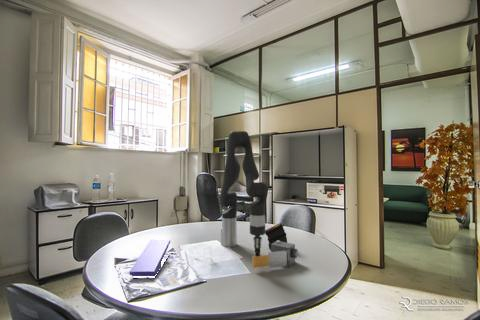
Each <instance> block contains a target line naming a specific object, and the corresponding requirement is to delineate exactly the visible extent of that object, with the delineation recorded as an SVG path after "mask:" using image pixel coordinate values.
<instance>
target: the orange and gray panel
mask: <svg viewBox="0 0 480 320" xmlns="http://www.w3.org/2000/svg"><path fill="white" fill-rule="evenodd" d="M263 267H268V269H272V268H280V267H286V268H287V267H288V268H289V267H291V266H290V256H289V249H287V251H278V252H271V251H270V252H268V254H263V255H261V254H260V256H255V255H253V256H252V268H263Z"/></svg>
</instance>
